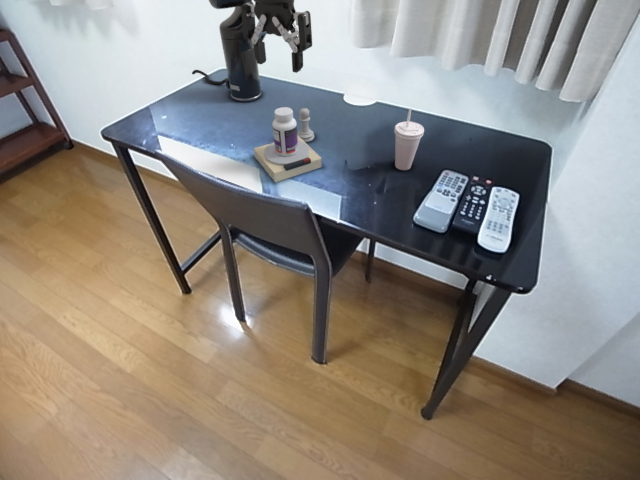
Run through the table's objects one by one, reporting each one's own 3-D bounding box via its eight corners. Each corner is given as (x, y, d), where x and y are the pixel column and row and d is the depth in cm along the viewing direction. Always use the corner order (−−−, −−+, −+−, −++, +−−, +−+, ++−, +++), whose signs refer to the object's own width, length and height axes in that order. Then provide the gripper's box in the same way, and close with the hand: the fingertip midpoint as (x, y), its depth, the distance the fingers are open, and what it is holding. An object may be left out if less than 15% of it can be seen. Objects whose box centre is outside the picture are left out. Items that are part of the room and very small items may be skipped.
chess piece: (294, 134, 98) (292, 105, 93) (311, 132, 99) (310, 103, 94) (299, 143, 95) (297, 114, 90) (316, 140, 96) (316, 111, 91)
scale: (254, 157, 91) (253, 144, 89) (298, 144, 95) (297, 132, 93) (275, 183, 83) (274, 170, 81) (322, 167, 88) (322, 155, 85)
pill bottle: (299, 145, 89) (297, 105, 82) (296, 157, 85) (294, 117, 78) (277, 144, 89) (273, 105, 82) (273, 156, 86) (268, 116, 79)
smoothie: (393, 156, 91) (401, 100, 81) (419, 161, 89) (431, 105, 79) (386, 170, 87) (394, 113, 77) (413, 176, 85) (425, 118, 75)
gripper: (224, -32, 63) (239, 66, 75) (294, -24, 58) (299, 81, 70) (251, -39, 68) (261, 54, 79) (318, -32, 63) (319, 67, 74)
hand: (279, 67), depth 75 cm, fingers open, 8 cm apart
